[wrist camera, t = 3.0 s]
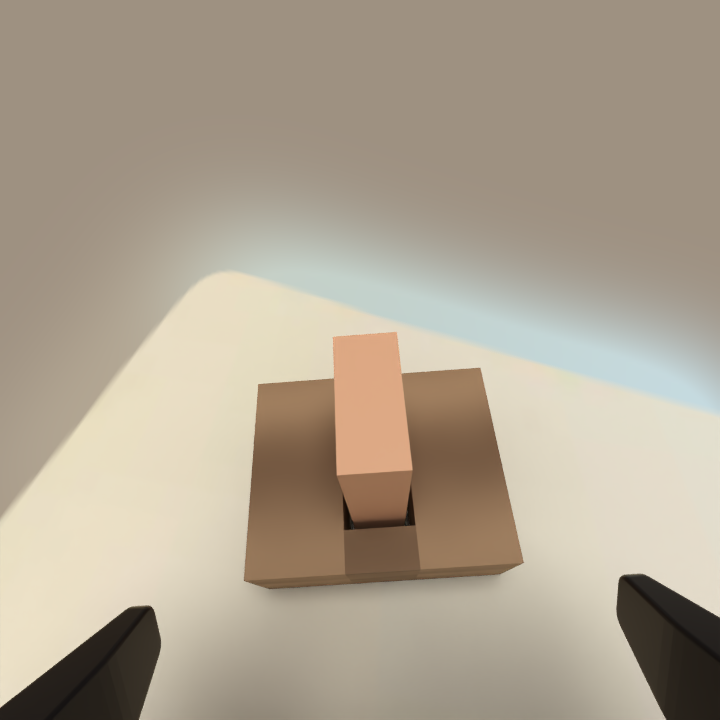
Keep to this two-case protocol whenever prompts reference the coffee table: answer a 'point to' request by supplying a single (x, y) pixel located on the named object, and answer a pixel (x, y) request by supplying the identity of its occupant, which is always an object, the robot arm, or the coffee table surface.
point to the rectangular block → (371, 429)
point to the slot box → (426, 496)
